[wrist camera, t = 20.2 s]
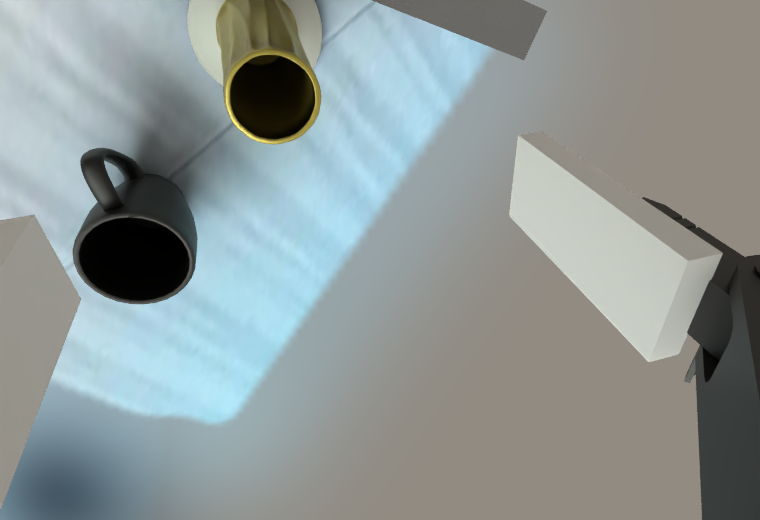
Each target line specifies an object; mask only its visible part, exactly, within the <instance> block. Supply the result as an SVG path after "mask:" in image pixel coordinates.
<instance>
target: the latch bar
mask: <svg viewBox="0 0 760 520" xmlns="http://www.w3.org/2000/svg"><path fill="white" fill-rule="evenodd" d="M373 1H375V2H378V3H380V4H383V5H385V6H388V7H390V8H393V9H395V10H398V11H401V12H403V13H406V14H408V15H411V16H413V17H416V18H418V19H421V20H423V21H426V22H428V23H431V24H434V25H436V26H439V27H441V28H444V29H446V30H449V31H451V32H454V33H456V34H459V35H461V36H464V37H467V38H469V39H472V40H474V41H477V42H479V43H482V44H484V45H487V46H489V47H492V48H494V49H497V50H500V51H502V52H505V53H507V54H510V55H513V56H515V57H517V58H520V59H522V60H524V59H525V57H526V55H527V53H528V50H529V48H530V46H531V44H532V42H533V40H534V37H535V35H536V33H537V31H538V29H539V27H540V25H541V23H542V21H543V19H544V16H545V14H546V12H547V11H545V10H543V9H541V8H539V7H537V6H535V5H532V4H530V3H528V2H526V1H524V0H373Z"/></svg>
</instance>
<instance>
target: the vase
mask: <svg viewBox="0 0 760 520" xmlns="http://www.w3.org/2000/svg"><path fill="white" fill-rule="evenodd" d="M216 36H217V41H218V45H219V47H220V49H221V62H222V70H223V93H224V102H225V106H226V109H227V111H228V113H229V116H230V118H231V120H232V122H233V123H234V125H235V126H236V127H237V128H238V129H239V130H240V131H242V132H243V133H244V134H245V135H247V136H248V137H249V138H251V139H253V140H255V141H258V142H261V143H266V144H281V143H285V142H289V141H292V140H295V139H297V138H299V137H300V136H302V135H303V134H304V133H305V132H306V131H307V130H308V129H309V128H310V127H311V126H312V125H313V124H314V122H315V120H316V118H317V116H318V114H319V110H320V104H321V90H320V86H319V83H318V80H317V78H316V75H315V73H314V71H313V69H312V67H311V64H310V62H309V59H308V57H307V55H306V53H305V50H304V48H303V46H302V43H301V40H300V38H299V35H298V27H297V23H296V20H295V17H294V15H293V13H292V11H291V9H290V8H289V7H288V6H287V4H286V3H285V2H284V1H283V0H226V1H225V2H224V3H223V5H222V6H221V8H220V10H219V13H218V15H217V18H216Z"/></svg>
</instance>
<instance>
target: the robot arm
mask: <svg viewBox="0 0 760 520" xmlns="http://www.w3.org/2000/svg"><path fill="white" fill-rule="evenodd" d="M509 216H510V217H511V218H512V219H513V220H514V221H515V222H516V223H517V224H518V225H519V226H520V227H521V228H522V230H523V231H524V232H525V233H526V234H527V235H528V236H529V237H530V238H531V239H532V240H533V241H534V242H535V243H536V244H537V245H538V246H539V247H540V248H541V250H542V251H543V252H544V253H545V254H546V255H547V256H548V257H549V258H550V259H551V260H552V261H553V262H554V263H555V264H556V265H557V266H558V267H559V268H560V269H561V270H562V271H563V273H564V274H565V275H566V276H567V277H568V278H569V279H570V280H571V281H572V282H573V283H574V284H575V285H576V286H577V287H578V288H579V289H580V290H581V292H583V294H585V296H586V297H587V298H588V299H589V300H590V301H591V302H592V303H593V304H594V305H595V306H596V307H597V308H598V309H599V310H600V311H601V313H602V314H603V315H604V316H605V317H606V318H607V319H608V320H609V321H610V322H611V323H612V324H613V325H614V326H615V327H616V328H617V329H618V330H619V331H620V333H621V334H622V335H623V336H624V337H625V338H626V339H627V340H628V341H629V342H630V343H631V344H632V345H633V346H634V347H635V348H636V349H637V350H638V351H639V352H640V354H641V355H642V356H643V357H644V358H645V359H646V360H647V361H648V362H651V361H655V360H658V359H663V358H667V357H670V356H674V355H678V354H679V353H680V350H681V348H682V346H683V343H684V341H685V339H686V337H687V334H689V335H690V336H691V337H692V338H693V339H694V340H696V341H697V342H698V343H699V344H700V346H699V348H698V350H697V353H696V355H695V357H694V359H693V361H692V363H691V365H690V368H689V370H688V372H687V374H686V377H685V380H684V381H685V382H689V383H690V381H691V379H692V377H693V376H694V375H696V390H697V412H698V435H699V457H700V479H701V502H702V520H760V255H754V256H747V257H744V256H742V255H740V254H739V253H737V252H736V251H735V250H733V249H731V248H730V247H728V246H727V245H725V244H724V243H722V242H721V241H719V240H718V239H716V238H715V237H713V236H712V235H710V234H708V233H707V232H706V231H704V230H702V229H701V228H699V227H698V228H696V226H695V224H693V223H691V222H690V221H689V220H687V219H686V218H685V219H682V216H681V215H679V214H678V213H676V212H675V211H673V210H672V209H670V208H669V207H667V206H666V205H663V204H660V203H658V202H655V201H652V200H650V199H647V198H644V197H643V198H640V197H639V196H637V195H636V194H634V193H633V192H631V191H630V190H628V189H627V188H625V187H624V186H622V185H621V184H619V183H618V182H617V181H615V180H613V179H612V178H611V177H609V176H607V175H606V174H605V173H603V172H602V171H600V170H599V169H597V168H596V167H594V166H593V165H591V164H590V163H588V162H587V161H585V160H584V159H582V158H581V157H579V156H578V155H576V154H575V153H573V152H572V151H570V150H569V149H567V148H566V147H565V146H563V145H562V144H560V143H559V142H557V141H556V140H554V139H553V138H551V137H550V136H548V135H547V134H545V133H544V132H542V131H540V132H534V133H528V134H522V135H518V143H517V151H516V160H515V169H514V178H513V186H512V195H511V205H510V214H509ZM80 300H81V298H80V296H79V294H78V293H77V291H76V289H75V287H74V285H73V284H72V282H71V280H70V278H69V276H68V275H67V273H66V271H65V269H64V267H63V266H62V264H61V262H60V260H59V258H58V257H57V255H56V253H55V251H54V249H53V248H52V246H51V244H50V242H49V240H48V239H47V237H46V235H45V233H44V231H43V230H42V228H41V226H40V224H39V222H38V221H37V219H36V217H35V215H30V216H24V217H18V218H12V219H6V220H0V509H1V507H2V504H3V501H4V499H5V496H6V494H7V491H8V488H9V486H10V483H11V480H12V478H13V475H14V473H15V470H16V468H17V465H18V462H19V459H20V457H21V454H22V451H23V449H24V446H25V444H26V441H27V439H28V436H29V433H30V431H31V428H32V426H33V423H34V420H35V418H36V415H37V413H38V410H39V407H40V405H41V402H42V400H43V397H44V394H45V392H46V389H47V387H48V384H49V381H50V379H51V376H52V374H53V371H54V368H55V366H56V363H57V360H58V358H59V355H60V353H61V350H62V347H63V345H64V342H65V340H66V337H67V334H68V332H69V329H70V327H71V324H72V321H73V319H74V316H75V313H76V311H77V308H78V306H79V303H80Z"/></svg>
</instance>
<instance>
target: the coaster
mask: <svg viewBox="0 0 760 520" xmlns="http://www.w3.org/2000/svg"><path fill="white" fill-rule="evenodd" d="M225 1H226V0H190V3H189V8H188V18H187V23H188V33H189V37H190V41H191V44H192V47H193V50H194V52H195V54H196V56H197V58H198V60H199V62H200V63H201V65H202V66H203V68H204V69H205V70H206V71H207V73H208V74H209V75H210V76H211V77H212V78H213V79H214V80H215V81H217V82H218V83H219V84H220V85H222V86H223V70H222V62H221V49H220V47H219V45H218V41H217V36H216V18H217V15H218V13H219V10H220V8H221V6H222V5H223V3H224V2H225ZM283 1H284V2H285V3H286V4H287V6H288V7H289V8H290V9H291V11H292V13H293V15H294V17H295V20H296V23H297V27H298V35H299V38H300V40H301V43H302V46H303V48H304V50H305V53H306V55H307V57H308V59H309V62H310V64H311V67H312V69H313V68H314V67H315V64H316V62H317V60H318V57H319V54H320V50H321V45H322V24H321V18H320V14H319V11H318V8H317V5H316V3H315V1H314V0H283Z"/></svg>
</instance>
